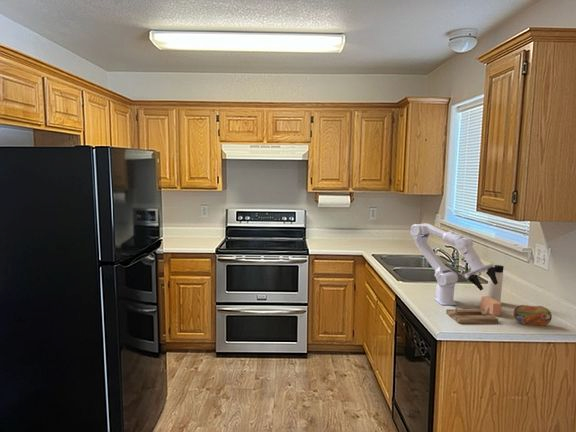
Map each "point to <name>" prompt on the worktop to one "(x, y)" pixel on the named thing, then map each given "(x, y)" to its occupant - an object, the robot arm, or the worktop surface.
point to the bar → (491, 305)
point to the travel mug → (495, 290)
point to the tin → (532, 315)
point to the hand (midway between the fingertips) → (489, 287)
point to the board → (471, 316)
